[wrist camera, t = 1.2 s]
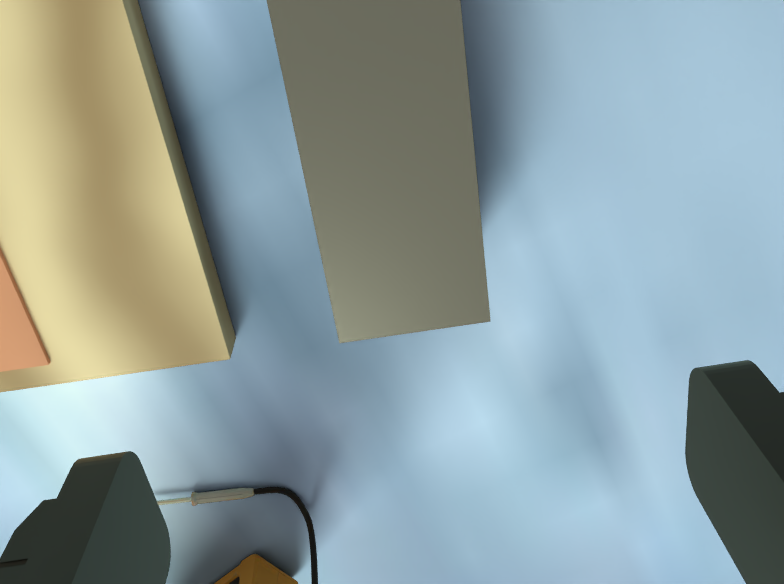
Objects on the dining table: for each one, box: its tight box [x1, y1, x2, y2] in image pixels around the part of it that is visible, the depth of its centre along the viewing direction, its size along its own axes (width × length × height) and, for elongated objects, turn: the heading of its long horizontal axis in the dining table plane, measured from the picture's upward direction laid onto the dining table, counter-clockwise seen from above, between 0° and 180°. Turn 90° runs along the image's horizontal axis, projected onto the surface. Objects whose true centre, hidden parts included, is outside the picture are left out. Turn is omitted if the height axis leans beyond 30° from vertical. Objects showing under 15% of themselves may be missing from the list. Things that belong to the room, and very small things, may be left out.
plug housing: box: [267, 0, 490, 343], centre depth 23 cm, size 5×11×5 cm, turn 8°
